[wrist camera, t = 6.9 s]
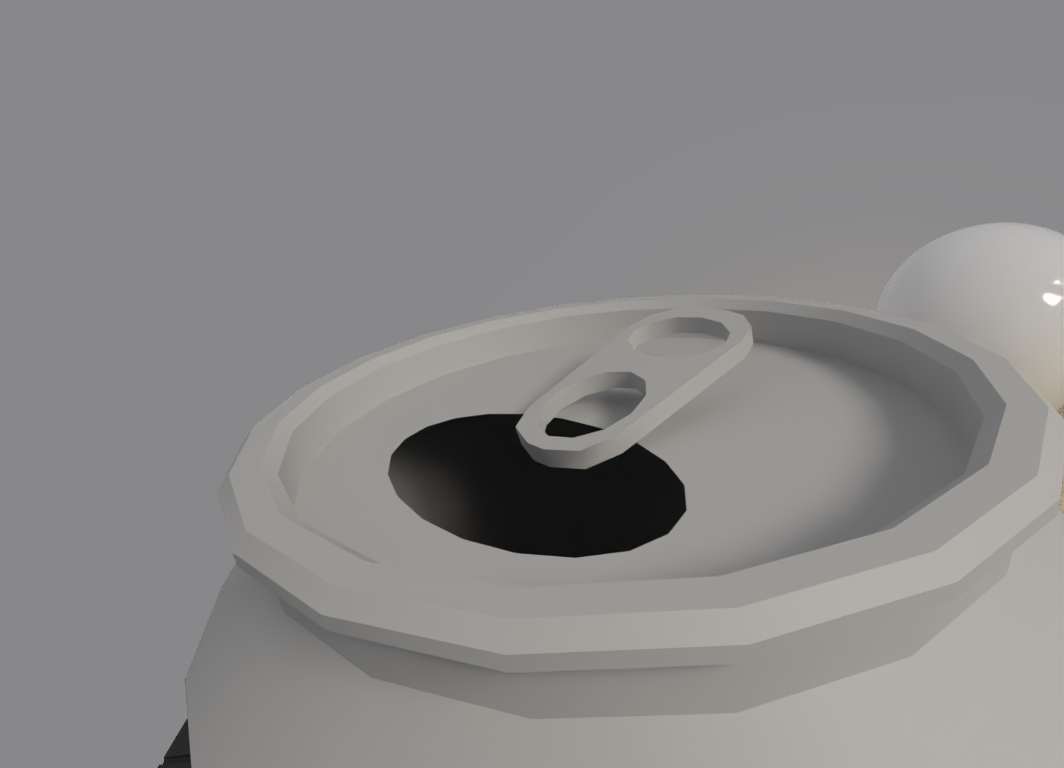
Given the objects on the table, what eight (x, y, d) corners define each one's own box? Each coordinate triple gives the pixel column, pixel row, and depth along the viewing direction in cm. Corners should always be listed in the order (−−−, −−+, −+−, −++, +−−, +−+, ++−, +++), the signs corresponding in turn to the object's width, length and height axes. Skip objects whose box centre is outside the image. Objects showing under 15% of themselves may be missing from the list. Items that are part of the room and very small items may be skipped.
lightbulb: (1061, 503, 23) (1118, 203, 19) (1088, 607, 18) (1171, 234, 15) (871, 474, 27) (889, 216, 23) (851, 556, 22) (870, 244, 18)
